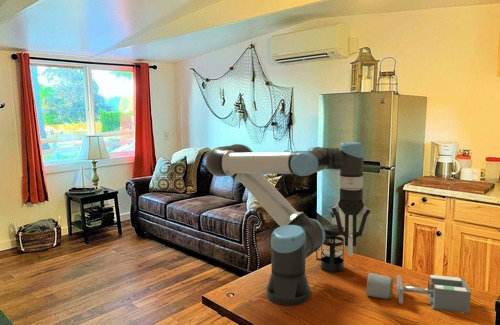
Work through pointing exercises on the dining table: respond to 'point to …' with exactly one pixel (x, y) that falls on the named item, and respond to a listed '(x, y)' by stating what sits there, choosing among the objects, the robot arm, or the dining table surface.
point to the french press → (332, 249)
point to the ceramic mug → (379, 286)
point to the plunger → (412, 288)
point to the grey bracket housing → (450, 294)
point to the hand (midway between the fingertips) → (350, 254)
